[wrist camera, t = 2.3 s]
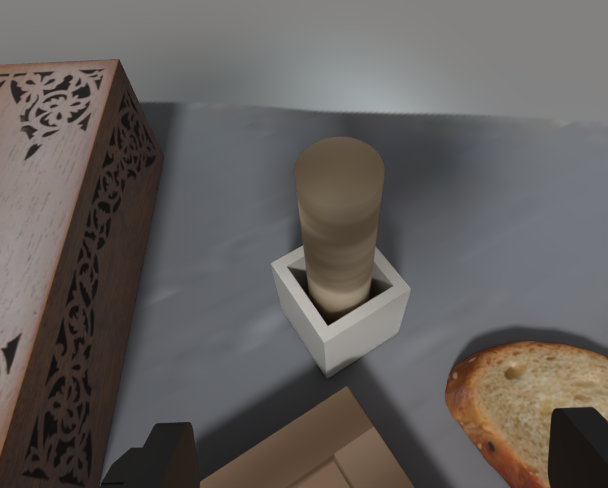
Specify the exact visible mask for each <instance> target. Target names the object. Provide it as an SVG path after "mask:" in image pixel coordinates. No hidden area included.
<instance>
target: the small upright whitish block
mask: <svg viewBox="0 0 608 488" xmlns="http://www.w3.org/2000/svg"><path fill="white" fill-rule="evenodd" d="M271 267H272V271H273V275H274V279H275V283H276V287H277V291H278V295H279V299H280V303H281V307H282V311H283V312H284V314H285V315H286V317H287V319H288V320H289V322H290V323H291V325H292V326H293V328H294V329H295V331H296V332H297V334H298V335H299V337H300V339H301V340H302V342H303V343H304V345H305V346H306V348H307V349H308V351H309V352H310V354H311V356H312V357H313V359H314V360H315V362H316V363H317V365H318V366H319V368H320V369H321V371H322V372H323V374H324V376H325V377H326V379H328V378H329V377H331V376H332V375H334V374H336V373H337V372H339V371H340V370H342V369H343V368H345V367H346V366H348V365H350V364H351V363H353V362H354V361H356V360H357V359H359V358H360V357H362V356H364V355H365V354H367V353H368V352H370V351H371V350H373V349H374V348H376V347H378V346H379V345H381V344H382V343H384V342H385V341H387V340H388V339H390V338H392V337H393V336H395V335H396V334H398V332H399V329H400V325H401V322H402V318H403V315H404V311H405V308H406V304H407V301H408V298H409V294H410V291H411V288H410V287H409V286H408V285H407V284H406V282H405V281H404V280H403V279H402V278H401V276H400V275H399V274H398V273H397V271H396V270H395V269H394V268H393V267H392V265H391V264H390V263H389V262H388V261H387V259H386V258H385V257H384V256H383V255H382V253H381V252H380V251H379V250H378V248H377V247H375V254H374V262H373V270H372V278H371V286H370V294H369V301H368V302H367V303H365V304H363V305H362V306H360V307H358V308H357V309H355V310H354V311H352V312H350V313H349V314H347V315H345V316H344V317H342V318H341V319H339V320H337V321H336V322H334V323H332V324H331V325H329V326H327V324H326V323H325V321H324V320H323V318H322V317H321V316H320V314H319V313H318V311H317V310H316V308H315V307H314V305H313V304H312V303H311V301H310V298H309V290H308V281H307V273H306V265H305V256H304V248H303V246H301V247H299V248H297V249H296V250H294V251H292V252H290V253H289V254H287V255H285V256H283V257H281V258H280V259H278V260H276V261H274V262H273V263H271Z"/></svg>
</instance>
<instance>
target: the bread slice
mask: <svg viewBox="0 0 608 488" xmlns="http://www.w3.org/2000/svg"><path fill="white" fill-rule="evenodd" d="M445 401H446V404H447V407H448V408H449V410H450V412H451V414H452V416H453V418H454V419H455V420H456V421H457V422H458V423H459V424H460V425H461V426H462V428H463V429H464V431H465V433H466V434H467V436H468V437H469V438H470V440H471V441H472V442H473V443H474V444H475V446H476V447H477V448H478V449H479V451H480V452H481V454H482V455H483V457H484V458H485V459H486V461H487V462H488V464H489V465H491V466H492V467H493V468H494V469H495V470H496V471H497V472H498V473H499V474H500V475H501V476H502V478H503V479H504V480H505V481H506V482H507V483H508V485H509V486H510V487H511V488H550V484H549V480H548V453H549V439H550V424H551V415H552V412H553V410H554V409H556V408H573V407H593V408H595V409H596V410H597V411H598V412H599V413H600V414H601V415H602V416H603V417H604V418H605V419H606V420H607V421H608V358H606V357H605V356H603V355H601V354H599V353H596V352H593V351H590V350H587V349H584V348H579V347H574V346H570V345H566V344H558V343H546V342H536V341H517V342H511V343H506V344H502V345H498V346H495V347H492V348H488V349H486V350H483V351H480V352H477V353H475V354H473V355H471V356H469V357H468V358H467V359H465V360H464V361H463V362H461V363H459V364H457V365H456V366H455V367H454V368H453V370H452V371H451V373H450V375H449V377H448V381H447V386H446V390H445Z"/></svg>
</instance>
